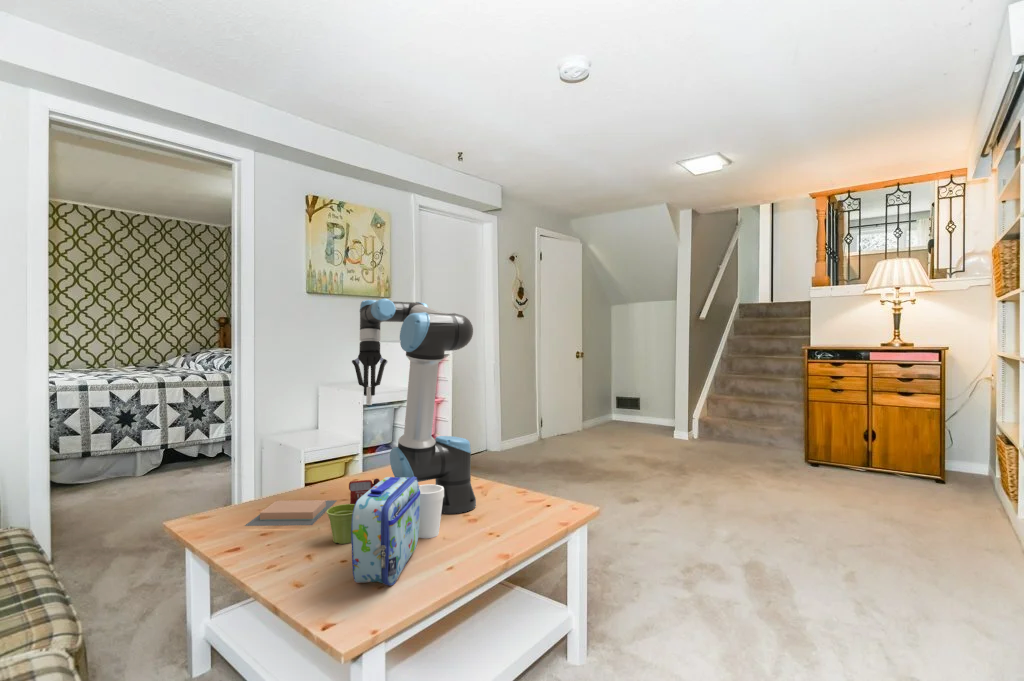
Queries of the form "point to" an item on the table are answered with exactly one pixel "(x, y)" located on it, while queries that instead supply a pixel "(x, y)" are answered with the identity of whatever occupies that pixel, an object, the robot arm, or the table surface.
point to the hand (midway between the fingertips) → (369, 404)
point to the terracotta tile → (293, 510)
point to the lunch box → (385, 529)
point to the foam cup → (430, 510)
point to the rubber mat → (257, 521)
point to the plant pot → (341, 522)
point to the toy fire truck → (360, 489)
